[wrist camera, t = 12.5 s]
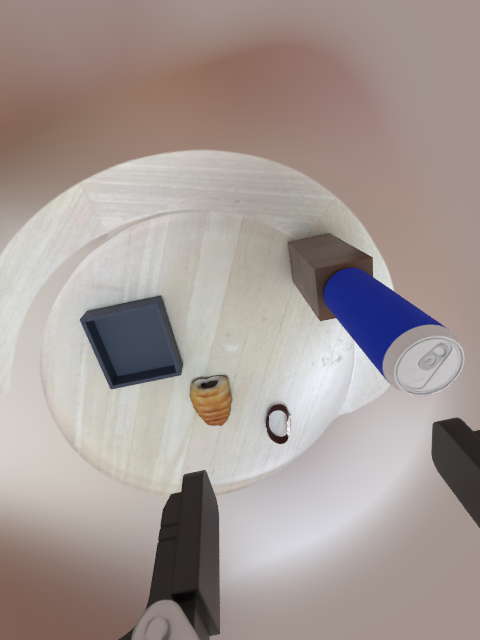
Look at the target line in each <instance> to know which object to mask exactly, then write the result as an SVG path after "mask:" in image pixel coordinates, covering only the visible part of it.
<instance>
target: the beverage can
mask: <svg viewBox="0 0 480 640" xmlns="http://www.w3.org/2000/svg"><path fill="white" fill-rule="evenodd" d="M324 301H325V304H326V305H327V307H328V308H329V309H330V311H331V312H332V313H333V314H334V316H335V317H336V318H337V319H338V321H339V322H340V323H341V324H342V326H343V327H344V328H345V329H346V331H347V332H348V333H349V334H350V336H351V337H352V338H353V339H354V340H355V342H356V343H357V344H358V345H359V347H360V348H361V349H362V350H363V352H364V353H365V354H366V355H367V357H368V358H369V359H370V360H371V362H372V363H373V364H374V365H375V367H376V368H377V369H378V370H379V371H380V373H381V374H382V375H383V376H384V378H385V379H386V380H387V381H388V382H389V383H390V384H391V385H392V386H393V387H395V388H397V389H399V390H401V391H403V392H405V393H407V394H410V395H414V396H426V395H431V394H435V393H437V392H439V391H441V390H443V389H445V388H446V387H448V386H449V385H450V384H451V383H452V382H454V380H455V379H456V378H457V377H458V375H459V374H460V372H461V370H462V368H463V365H464V352H463V349H462V347H461V345H460V343H459V341H458V340H457V338H456V336H455V335H454V334H453V333H452V332H451V331H450V330H449V329H447V328H446V327H445V326H443V325H442V324H440V323H439V322H437V321H436V320H434V319H433V318H431V317H430V316H428V315H427V314H426V313H424V312H423V311H421V310H420V309H418V308H417V307H416V306H414V305H413V304H411V303H410V302H408V301H407V300H405V299H404V298H402V297H401V296H400V295H398V294H397V293H395V292H394V291H392V290H391V289H389V288H388V287H386V286H385V285H384V284H382V283H381V282H379V281H378V280H376V279H375V278H373V277H372V276H370V275H369V274H368V273H366V272H365V271H363V270H361V269H358V268H346V269H343V270H340V271H338V272H337V273H335V274H334V275H333V276H332V277H331V278H330V279H329V281H328V282H327V284H326V286H325V289H324Z"/></svg>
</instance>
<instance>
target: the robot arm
mask: <svg viewBox="0 0 480 640" xmlns="http://www.w3.org/2000/svg"><path fill="white" fill-rule="evenodd" d="M432 459H433V462H434V465H435V466H436V469H437V471H438V472H439V474H440V475H441V476H442V478H443V479H444V480H445V482H446V483H447V485H448V486H449V487H450V489H451V490H452V491H453V493H454V494H455V495H456V497H457V498H458V499H459V501H460V502H461V503H462V505H463V506H464V508H465V509H466V510H467V512H468V513H469V514H470V516H471V517H472V518H473V520H474V521H475V522H476V523H477V525H478V527H479V528H480V430H478V431H472V430H471V429H470V428H469V427H468V426H467V425H466V424H465V422H463V421H462V420H461V419H460V418H452V419H447V420H442V421H438V422H434V423H433V430H432ZM158 540H159V543H158V545H157V551H156V558H155V565H154V571H153V577H152V583H151V590H150V596H149V600H148V604H147V607H146V609H145V611H144V612H143V614H142V615H141V616H140V618H139V619H138V621H137V623H136V625H135V626H134V628H133V629H132V630H131V631H130V632H128V633H127V634H126V635H125V636H123V637H122V638H120V639H119V640H209V636H212V635H217V634H220V601H219V600H220V595H219V591H220V589H219V512H218V505H217V500H216V497H215V494H214V491H213V488H212V486H211V483H210V480H209V477H208V475H207V472H206V471H205V470H203V471H198V472H193V473H188V474H184V476H183V482H182V491H181V492H179V493H174V494H171V495H170V497H169V499H168V501H167V503H166V505H165V507H164V509H163V513H162V520H161V529H160V533H159V539H158Z"/></svg>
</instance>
